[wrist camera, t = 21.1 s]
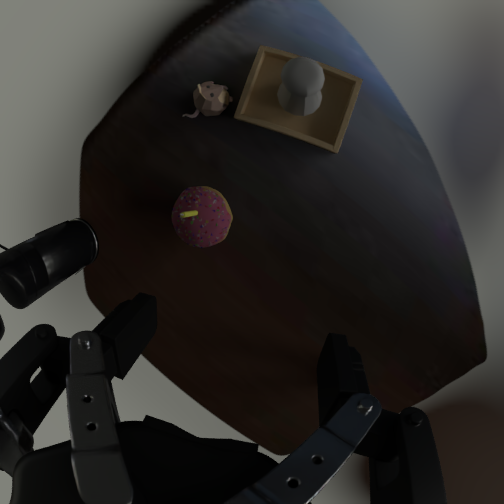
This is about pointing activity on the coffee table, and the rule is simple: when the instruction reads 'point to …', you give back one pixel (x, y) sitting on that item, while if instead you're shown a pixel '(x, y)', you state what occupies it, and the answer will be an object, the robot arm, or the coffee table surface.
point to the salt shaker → (301, 86)
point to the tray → (299, 127)
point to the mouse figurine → (210, 99)
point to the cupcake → (201, 216)
